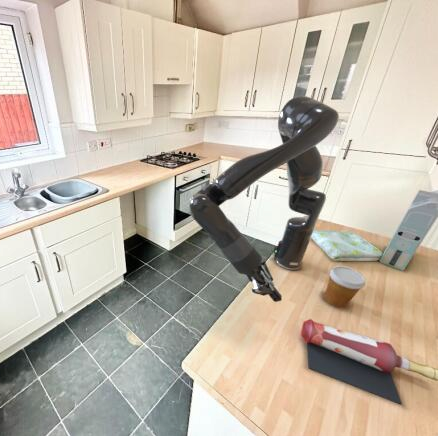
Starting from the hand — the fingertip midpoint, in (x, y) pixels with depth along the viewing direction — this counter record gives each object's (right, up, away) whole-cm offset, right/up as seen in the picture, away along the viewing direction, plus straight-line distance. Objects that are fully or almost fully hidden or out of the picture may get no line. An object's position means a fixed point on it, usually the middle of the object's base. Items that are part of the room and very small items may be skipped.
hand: (278, 299), depth 67 cm
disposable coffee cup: (+30, -7, +18) cm, 36 cm away
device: (+71, +5, +38) cm, 80 cm away
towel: (+53, +8, +44) cm, 69 cm away
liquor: (+10, -10, +5) cm, 15 cm away
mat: (+18, -17, -1) cm, 25 cm away
